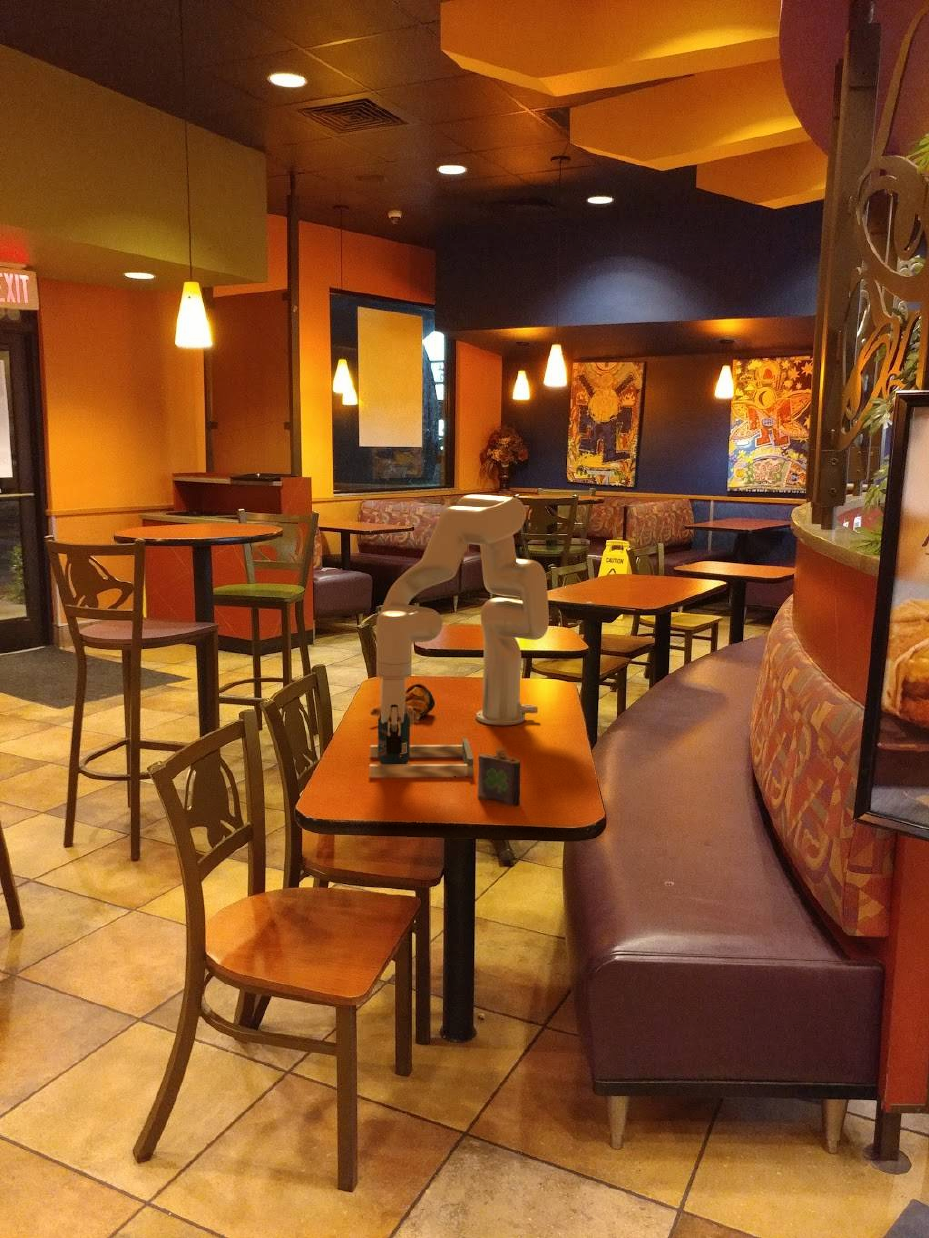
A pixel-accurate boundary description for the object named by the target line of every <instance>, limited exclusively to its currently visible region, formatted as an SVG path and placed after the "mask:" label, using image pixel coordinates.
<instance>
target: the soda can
mask: <svg viewBox="0 0 929 1238" xmlns="http://www.w3.org/2000/svg"><path fill="white" fill-rule="evenodd" d="M400 719H401V718H400ZM390 721H391V719H390V716H389V722H390ZM397 721H399V719H397ZM400 725H401V735H402V752H401V754H387V735H388V721H387V722H384V724H383V723H382V722H381V714H380V715H379V716H378V718H377V739H378V740H377V745H378V757H377V760H378V762H379V764H409V761H410V759H411V757H410V745H411V727H410V718H409V716H408V714H407V710H406V709H405V712H404V721H403V723H401V724H400ZM397 726H398V725H397ZM390 727H391V725H390Z"/></svg>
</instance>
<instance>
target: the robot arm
mask: <svg viewBox="0 0 929 1238" xmlns="http://www.w3.org/2000/svg"><path fill="white" fill-rule="evenodd" d="M526 511H527V510H526V508H525V506H524V504H523V502H522V501H521V500H520V499H519V498H517V497H512V496H504V495H503V496H500V495H499V496H498V495H490V494H489V495H487V494H468V495H464V496H462V497H460V498H459V499H458V501H457V502H456V505H455V506H453V505H452V506H449V507H447V508H445V509H444V510H443V511H442V512H441V513H440V515H439V517H438V519H437V522H436V524H435V526H434V529H433V531H432V533H431V536H430V538H429V540H428V544H427V545H426V548H425V550H424V552H423V554H422V558H421V559H420V560H419V561H418V562H417V563H415V564H414V565H413V566H411V567H410V568H408V569H407V570H406V571H405V572H404V573H403V574H402V575H401V576H399V577H398V578H397V579H396V581H394V583H393V584H392V585H391V586H390V589H389V590H388V592H387V594H386V597H385V599H384V602H383V604H382V607H381V610H380V613H378V615H377V617H376V676H377V677H378V678H380V679H381V681H380V707H381V722H382V723H383V724H384V722H387V721H388V735H387V754H401V752H402V735H401V725H400V724H401V723H403V721H404V712H405V698H406V691H407V689H406V688H407V685H406V684H407V680H406V679H409V678H411V676H412V662H413V661H412V659H413V658H412V657H413V656H412V649H413V648H412V647H413V646H412V645H413V644H414V643H425V642H431V641H433V640H435V639H437V637H438V636H439V635H440V633H441V631H442V630H443V629H442V628H443V618H442V616H441V615H440V613H439V612H438V611H436V610H435V609H432V608H430V607H425V606H417V605H411V604H410V602H411V600H412V599H413V598H414V597H415V596H417V594H419V593H420V592H422V591H423V590H425V589H428V588H431V587H432V586H436V585H439V584H441V583H444V582H446V581H449V580H451V579H453V578H455V576H456V575H457V572H458V570H459V568H460V565H461V563H462V560H463V558H464V555H465V553H466V551H467V548H468V546H469V545H477V546H479V547H480V548H479V549H480V557H481V567H482V568H481V569H482V579H483V584H484V587H485V589H486V591H487V592H489V593H490V594H493V595H498V596H499V597H492V598H490V599H488V600H487V601H485V603H484V604H483V605H482V608H481V610H480V624H481V630H482V635H483V669H482V670H483V673H482V674H483V675H482V676H483V677H482V678H483V680H482V681H483V682H482V709H481V710H479V711H478V712H476V714H475V719H476V720H477V721H478V722H479V723H483V724H487V725H491V726H513V725H519V724H521V723H523V722H524V721H525V720H526V714H538V711H539V710H538V709H539V708H538V705H532V704H529V703H528V704H523V703H522V702H521V700H520V698H521V697H520V696H521V693H520V692H521V668H522V667H521V665H522V652H521V648H520V645H519V642H518V640H517V639H525V640H531V641H532V640H534V641H536V640H540V639H541V638H543V637H544V636H545V635H546V634H547V632H548V629H549V625H550V611H549V597H548V596H549V595H548V584H547V583H548V581H547V576H546V571H545V569H544V567H543V565H542V564H541V563H539V561H536V560H534V559H527V558H526V559H525V558H520V557H518V556H517V553H516V547H515V538H514V535H515V534H517V533H518V532H519V531H520V530H521V529H522V527H523V525H524V524H525V521H526V516H527V515H526V514H527V513H526ZM500 596H504V597H500ZM509 597H510V598H509ZM512 597H513V598H512ZM517 598H518V599H517ZM519 598H520V599H519ZM516 638H517V639H516ZM389 716H390V719H391V721H390V722H389ZM400 718H401V719H400ZM397 719H399V721H397ZM390 725H391V727H390ZM397 725H398V726H397Z"/></svg>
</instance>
